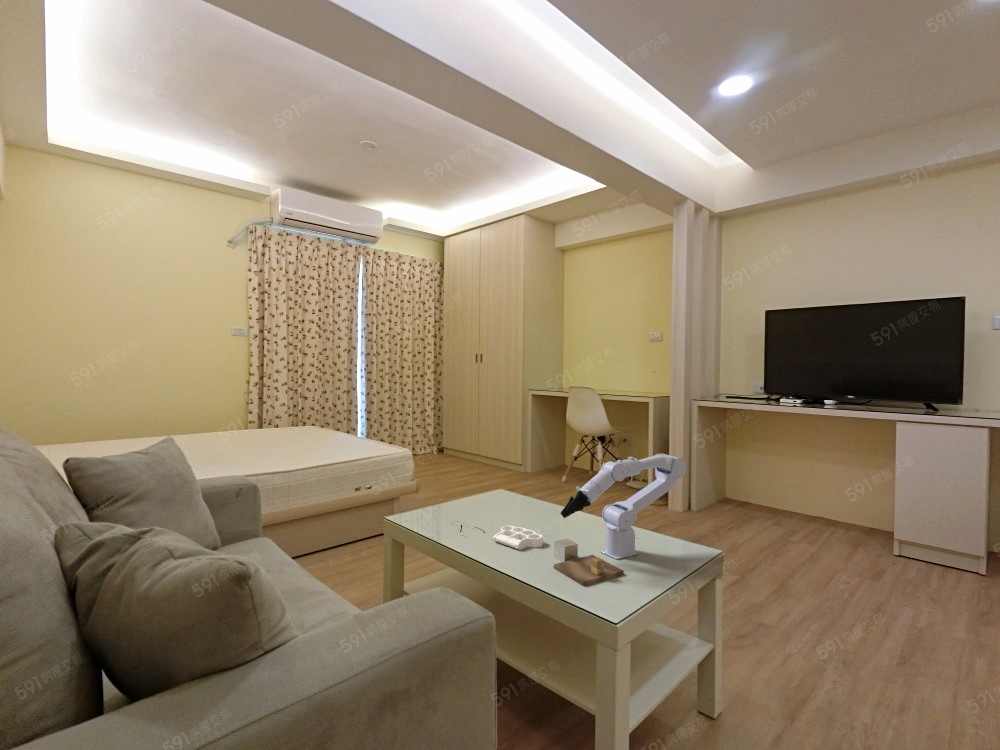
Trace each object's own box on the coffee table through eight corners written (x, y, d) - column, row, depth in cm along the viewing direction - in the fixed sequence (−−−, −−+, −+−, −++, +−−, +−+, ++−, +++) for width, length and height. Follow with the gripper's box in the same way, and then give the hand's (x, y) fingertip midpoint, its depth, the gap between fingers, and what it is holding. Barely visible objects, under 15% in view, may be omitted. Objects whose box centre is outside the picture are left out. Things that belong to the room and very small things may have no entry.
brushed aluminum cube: (567, 554, 158) (567, 538, 158) (577, 560, 154) (577, 543, 154) (554, 557, 156) (554, 541, 156) (564, 563, 151) (564, 546, 151)
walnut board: (592, 558, 155) (592, 542, 155) (623, 574, 143) (623, 557, 143) (553, 568, 147) (554, 551, 147) (583, 586, 135) (583, 568, 135)
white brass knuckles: (486, 541, 171) (512, 531, 182) (525, 554, 159) (550, 543, 170) (486, 531, 171) (512, 522, 182) (525, 544, 159) (550, 534, 170)
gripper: (580, 482, 163) (552, 507, 158) (593, 473, 150) (562, 499, 145) (594, 499, 161) (566, 524, 156) (608, 490, 148) (577, 518, 143)
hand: (565, 513), depth 151 cm, fingers open, 7 cm apart
